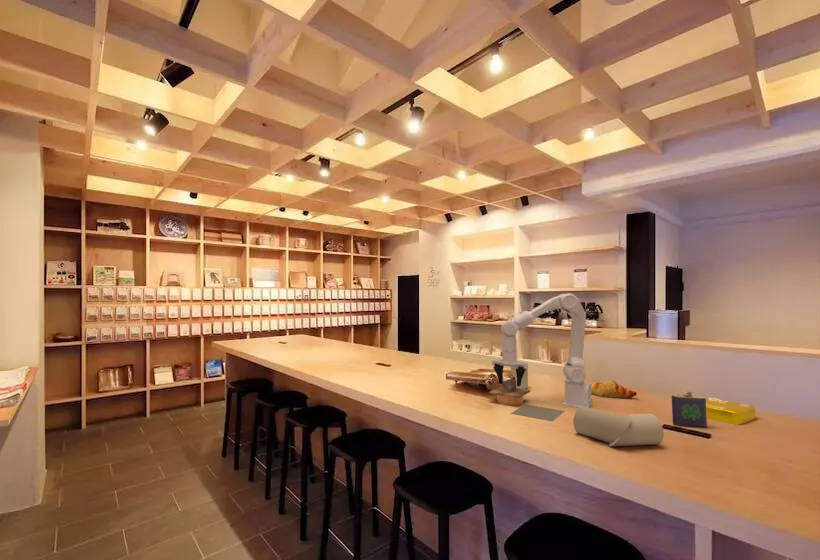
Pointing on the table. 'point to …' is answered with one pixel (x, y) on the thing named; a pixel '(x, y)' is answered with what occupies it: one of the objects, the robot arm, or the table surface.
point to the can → (524, 379)
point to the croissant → (611, 390)
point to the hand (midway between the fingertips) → (509, 384)
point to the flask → (689, 410)
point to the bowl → (509, 400)
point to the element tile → (729, 411)
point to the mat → (538, 412)
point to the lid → (509, 390)
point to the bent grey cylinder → (618, 427)
